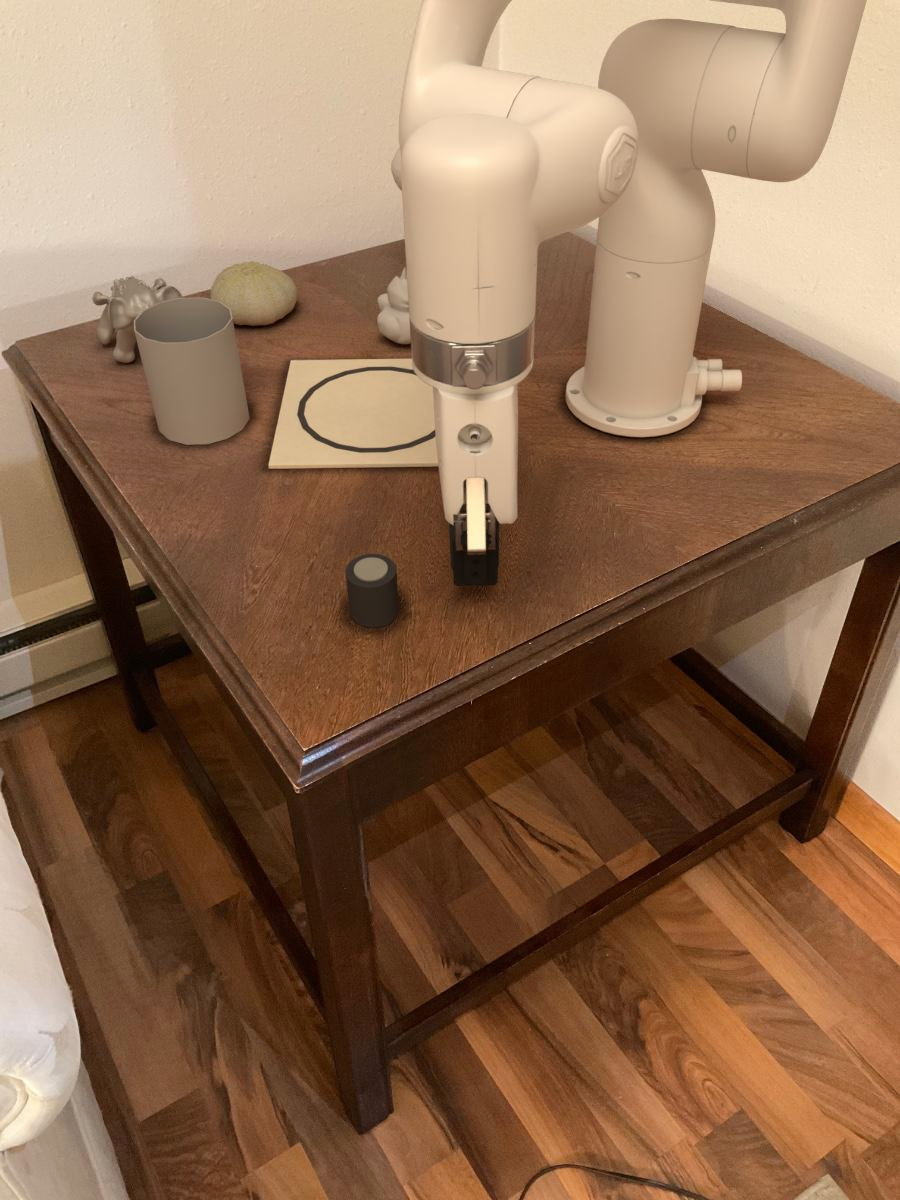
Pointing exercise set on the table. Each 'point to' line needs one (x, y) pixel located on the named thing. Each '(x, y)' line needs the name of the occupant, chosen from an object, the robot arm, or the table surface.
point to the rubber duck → (395, 311)
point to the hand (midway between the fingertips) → (474, 560)
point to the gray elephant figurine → (128, 311)
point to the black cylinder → (452, 530)
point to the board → (355, 416)
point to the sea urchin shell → (255, 293)
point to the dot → (372, 590)
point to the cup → (192, 369)
